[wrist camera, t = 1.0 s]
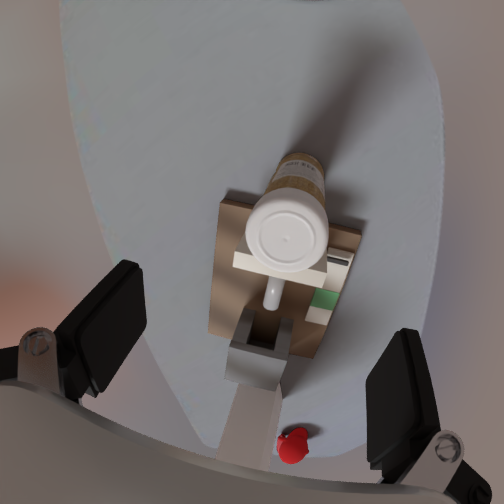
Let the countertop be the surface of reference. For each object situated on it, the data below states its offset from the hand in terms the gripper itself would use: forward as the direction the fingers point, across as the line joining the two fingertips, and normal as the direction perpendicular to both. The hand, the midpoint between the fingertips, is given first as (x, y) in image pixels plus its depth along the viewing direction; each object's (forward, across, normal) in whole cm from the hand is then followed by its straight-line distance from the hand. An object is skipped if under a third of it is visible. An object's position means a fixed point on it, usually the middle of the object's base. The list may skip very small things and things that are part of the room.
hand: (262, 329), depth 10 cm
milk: (+20, -2, +33) cm, 39 cm away
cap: (+21, -11, +47) cm, 52 cm away
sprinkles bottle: (+20, 0, 0) cm, 20 cm away
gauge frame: (+20, 0, +13) cm, 24 cm away
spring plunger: (+19, -1, +9) cm, 21 cm away
